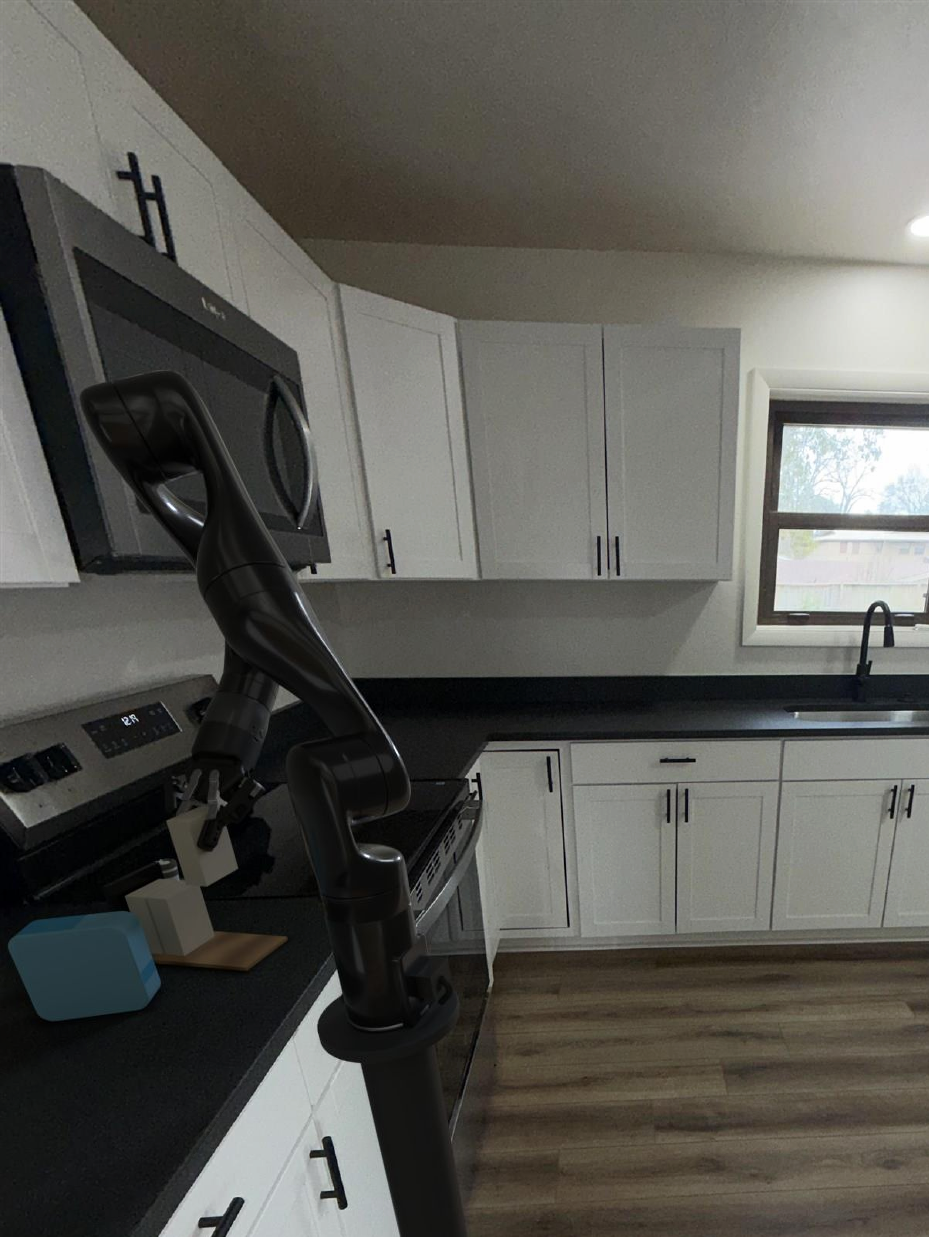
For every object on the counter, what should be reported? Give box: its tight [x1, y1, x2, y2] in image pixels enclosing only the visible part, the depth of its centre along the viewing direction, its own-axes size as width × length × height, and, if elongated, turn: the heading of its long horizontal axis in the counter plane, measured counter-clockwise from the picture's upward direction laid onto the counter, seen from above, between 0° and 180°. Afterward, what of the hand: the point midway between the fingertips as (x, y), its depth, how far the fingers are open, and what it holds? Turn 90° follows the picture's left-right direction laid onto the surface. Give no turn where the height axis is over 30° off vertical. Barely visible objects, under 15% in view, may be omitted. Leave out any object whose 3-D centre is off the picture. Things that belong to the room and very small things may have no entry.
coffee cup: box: [154, 858, 185, 881], centre depth 123 cm, size 12×12×5 cm
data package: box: [7, 911, 162, 1022], centre depth 88 cm, size 12×4×12 cm, turn 105°
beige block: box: [166, 806, 239, 888], centre depth 94 cm, size 3×6×9 cm, turn 172°
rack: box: [101, 861, 289, 972], centre depth 101 cm, size 18×9×12 cm, turn 81°
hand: (191, 848), depth 92 cm, fingers closed on beige block, 3 cm apart
